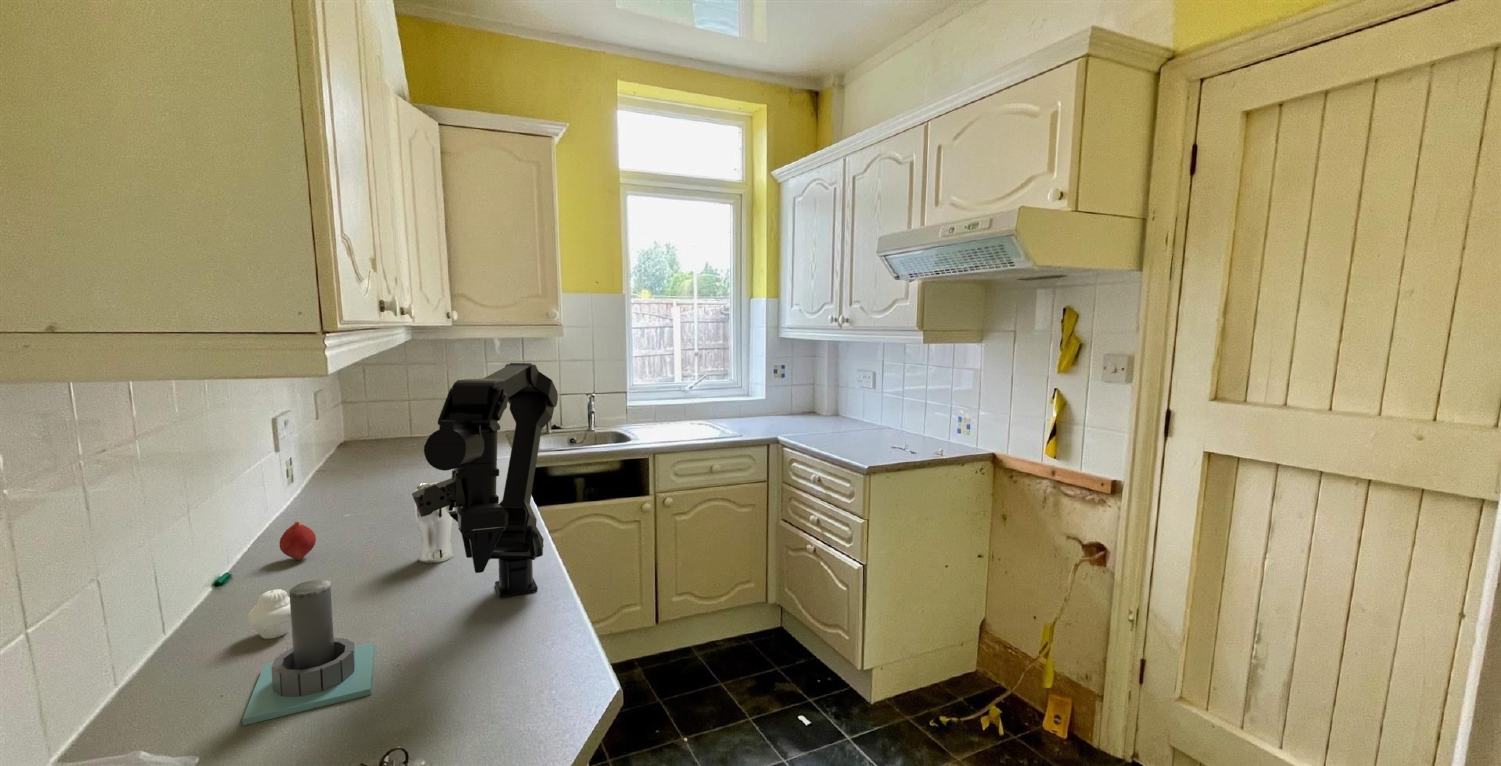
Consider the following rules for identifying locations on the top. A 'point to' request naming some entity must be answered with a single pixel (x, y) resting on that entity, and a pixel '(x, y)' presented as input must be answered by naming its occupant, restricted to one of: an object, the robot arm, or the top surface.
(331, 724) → the top surface
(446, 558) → the beer glass
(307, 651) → the plug
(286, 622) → the muffin
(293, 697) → the socket
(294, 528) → the onion
